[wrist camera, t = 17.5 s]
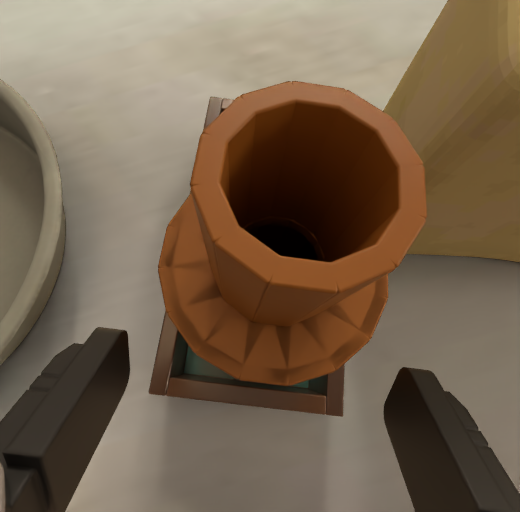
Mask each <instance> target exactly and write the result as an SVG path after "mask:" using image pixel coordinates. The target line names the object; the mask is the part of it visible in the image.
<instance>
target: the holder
mask: <svg viewBox="0 0 520 512" xmlns="http://www.w3.org/2000/svg"><path fill="white" fill-rule="evenodd" d="M233 101H234V100H231V99H225V98H223V99H222V98H217V97H210V100H209V105H208V110H207V115H206V119H205V124H204V129H205V128H206V127H207V126H208V125H210V124H211V123H212V122H213V121H214V120H215V119H216V118H217V117H218V116H219V115H220V114H221V113H222V112H223V111H224V110H225V109H226V108H227V107H228V106H229V105H230V104H231V103H232V102H233ZM204 129H203V131H204ZM190 194H191V191H190ZM149 394H155V395H163V396H165V395H166V396H171V397H180V398H188V399H197V400H205V401H214V402H222V403H230V404H239V405H247V406H256V407H264V408H273V409H281V410H290V411H298V412H307V413H315V414H326V415H332V416H341V417H342V416H343V396H344V365H342V366H341V367H340V368H339V369H338V370H336V371H335V372H333V373H329V374H326V375H323V376H320V377H317V378H313V379H310V380H307V381H304V382H301V383H298V384H294V385H291V386H290V385H288V386H282V385H274V384H266V383H258V382H250V381H241V380H239V379H236V378H234V377H232V376H231V375H229V374H227V373H226V372H224V371H222V370H221V369H219V368H217V367H216V366H214V365H212V364H211V363H209V362H207V361H206V360H204V359H202V358H201V357H199V356H197V355H196V353H194V352H193V351H192V349H191V348H190V346H189V345H188V344H187V342H186V341H185V339H184V338H183V337H182V335H181V334H180V332H179V331H178V329H177V328H176V327H175V325H174V324H173V322H172V321H171V319H170V318H169V317H168V313H167V312H166V311H165V316H164V321H163V326H162V330H161V335H160V340H159V345H158V350H157V354H156V359H155V364H154V369H153V374H152V378H151V383H150V388H149Z"/></svg>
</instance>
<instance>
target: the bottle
mask: <svg viewBox="0 0 520 512" xmlns="http://www.w3.org/2000/svg"><path fill="white" fill-rule="evenodd" d="M190 186H191V194H190V195H189V197H188V198H187V199H186V201H185V202H184V203H183V205H182V206H181V208H180V209H179V210H178V212H177V213H176V214H175V216H174V217H173V219H172V220H171V221H170V223H169V224H168V227H167V229H166V234H165V238H164V243H163V247H162V251H161V256H160V260H159V265H158V268H159V269H158V273H159V278H160V283H161V288H162V293H163V298H164V303H165V308H166V312H167V313H168V317H169V318H170V319H171V321H172V322H173V324H174V325H175V327H176V328H177V329H178V331H179V332H180V334H181V335H182V337H183V338H184V339H185V341H186V342H187V344H188V345H189V346H190V348H191V349H192V351H193V352H194V353H196V355H197V356H199V357H201V358H202V359H204V360H206V361H207V362H209V363H211V364H212V365H214V366H216V367H217V368H219V369H221V370H222V371H224V372H226V373H227V374H229V375H231V376H232V377H234V378H236V379H239V380H241V381H250V382H258V383H266V384H274V385H282V386H288V385H290V386H291V385H294V384H298V383H301V382H304V381H307V380H310V379H313V378H317V377H320V376H323V375H326V374H329V373H333V372H335V371H336V370H338V369H339V368H340V367H341V366H342V365H344V364H345V363H346V362H347V361H348V360H349V359H350V358H351V357H352V356H353V355H355V354H356V353H357V352H358V351H359V350H360V349H361V348H362V347H363V346H364V345H366V344H367V343H368V342H369V340H370V339H371V338H372V335H373V333H374V331H375V328H376V326H377V324H378V321H379V319H380V317H381V314H382V312H383V310H384V307H385V305H386V302H387V298H388V273H390V272H392V271H393V270H394V269H395V268H396V267H398V266H399V265H400V263H401V261H402V260H403V258H404V257H405V255H406V253H407V252H408V250H409V249H410V247H411V245H412V244H413V242H414V241H415V239H416V237H417V236H418V234H419V232H420V231H421V229H422V228H423V226H424V224H425V222H426V218H427V204H426V185H425V167H424V166H423V162H422V160H421V159H420V157H419V156H418V154H417V153H416V151H415V150H414V148H413V147H412V145H411V144H410V142H409V140H408V139H407V137H406V136H405V134H404V133H403V131H402V130H401V128H400V127H399V125H398V124H397V122H396V121H395V120H393V118H392V117H391V116H389V115H388V114H386V113H384V112H383V111H381V110H380V109H378V108H376V107H375V106H373V105H372V104H370V103H368V102H367V101H365V100H364V99H362V98H360V97H359V96H357V95H355V94H354V93H352V92H351V91H349V90H345V89H344V88H337V87H330V86H324V85H317V84H311V83H304V82H298V81H292V82H290V81H288V82H285V83H281V84H277V85H274V86H270V87H267V88H263V89H260V90H256V91H253V92H249V93H246V94H242V95H241V96H240V97H237V98H236V99H235V100H234V101H233V102H232V103H231V104H230V105H229V106H228V107H227V108H226V109H225V110H224V111H223V112H222V113H221V114H220V115H219V116H218V117H217V118H216V119H215V120H214V121H213V122H212V123H211V124H210V125H208V126H207V127H206V128H205V129H204V131H203V133H202V134H201V136H200V139H199V144H198V149H197V154H196V158H195V163H194V168H193V172H192V177H191V182H190Z"/></svg>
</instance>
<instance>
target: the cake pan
mask: <svg viewBox="0 0 520 512" xmlns="http://www.w3.org/2000/svg"><path fill="white" fill-rule="evenodd" d="M65 236H66V227H65V213H64V207H63V202H62V186H61V177H60V171H59V165H58V162H57V156H56V153H55V150H54V147H53V144H52V142H51V139H50V137H49V135H48V133H47V131H46V129H45V127H44V125H43V124H42V122H41V120H40V119H39V117H38V116H37V115H36V113H35V112H34V110H33V109H32V108H31V107H30V105H29V104H28V103H27V102H26V101H25V100H24V99H23V98H22V97H21V96H20V95H19V94H18V93H17V92H16V91H15V90H14V89H13V88H11V87H10V86H9V85H7V84H6V83H5V82H4V81H2V80H1V79H0V365H1V364H2V363H3V362H4V361H5V360H6V359H7V358H8V357H9V356H10V355H11V354H12V353H13V351H14V350H15V349H16V348H17V347H18V346H19V344H20V343H21V342H22V341H23V339H24V338H25V337H26V336H27V334H28V333H29V331H30V330H31V328H32V327H33V325H34V324H35V322H36V321H37V319H38V318H39V316H40V315H41V313H42V311H43V309H44V307H45V305H46V303H47V301H48V299H49V297H50V295H51V293H52V291H53V288H54V285H55V283H56V280H57V277H58V274H59V271H60V267H61V263H62V259H63V254H64V246H65Z"/></svg>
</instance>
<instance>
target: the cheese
mask: <svg viewBox="0 0 520 512" xmlns="http://www.w3.org/2000/svg"><path fill="white" fill-rule="evenodd" d="M383 112H384V113H386V114H388V115H389V116H391V117H392V118H393V120H395V121H396V122H397V124H398V125H399V127H400V128H401V130H402V131H403V133H404V134H405V136H406V137H407V139H408V140H409V142H410V144H411V145H412V147H413V148H414V150H415V151H416V153H417V154H418V156H419V157H420V159H421V160H422V162H423V166H424V167H425V185H426V204H427V218H426V222H425V224H424V226H423V228H422V229H421V231H420V232H419V234H418V236H417V237H416V239H415V241H414V242H413V244H412V245H411V247H410V249H409V250H408V252H407V253H406V254H428V255H452V256H470V257H483V258H494V259H502V260H509V261H515V262H520V0H448V1H447V3H446V5H445V6H444V8H443V10H442V11H441V13H440V15H439V17H438V18H437V20H436V22H435V23H434V25H433V27H432V28H431V30H430V32H429V33H428V35H427V37H426V39H425V40H424V42H423V44H422V45H421V47H420V49H419V50H418V52H417V54H416V55H415V57H414V59H413V61H412V62H411V64H410V66H409V67H408V69H407V71H406V73H405V74H404V76H403V78H402V79H401V81H400V83H399V85H398V86H397V88H396V90H395V92H394V93H393V95H392V97H391V98H390V100H389V102H388V104H387V105H386V107H385V109H384V111H383Z"/></svg>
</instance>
